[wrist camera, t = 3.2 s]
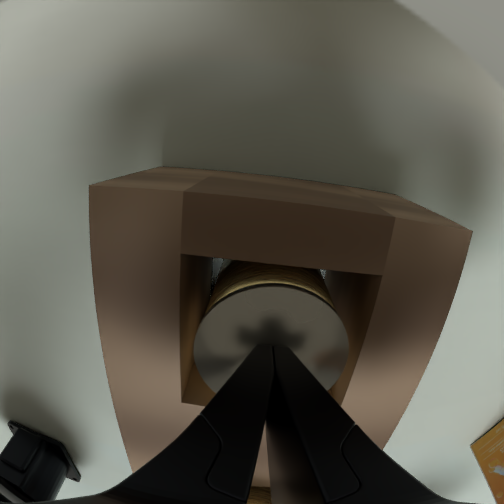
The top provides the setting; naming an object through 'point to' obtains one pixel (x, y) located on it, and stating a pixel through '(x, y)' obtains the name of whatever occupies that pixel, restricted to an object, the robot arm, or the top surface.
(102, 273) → the walnut block
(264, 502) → the brass peg
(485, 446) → the small box
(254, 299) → the brass peg
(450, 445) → the top surface
